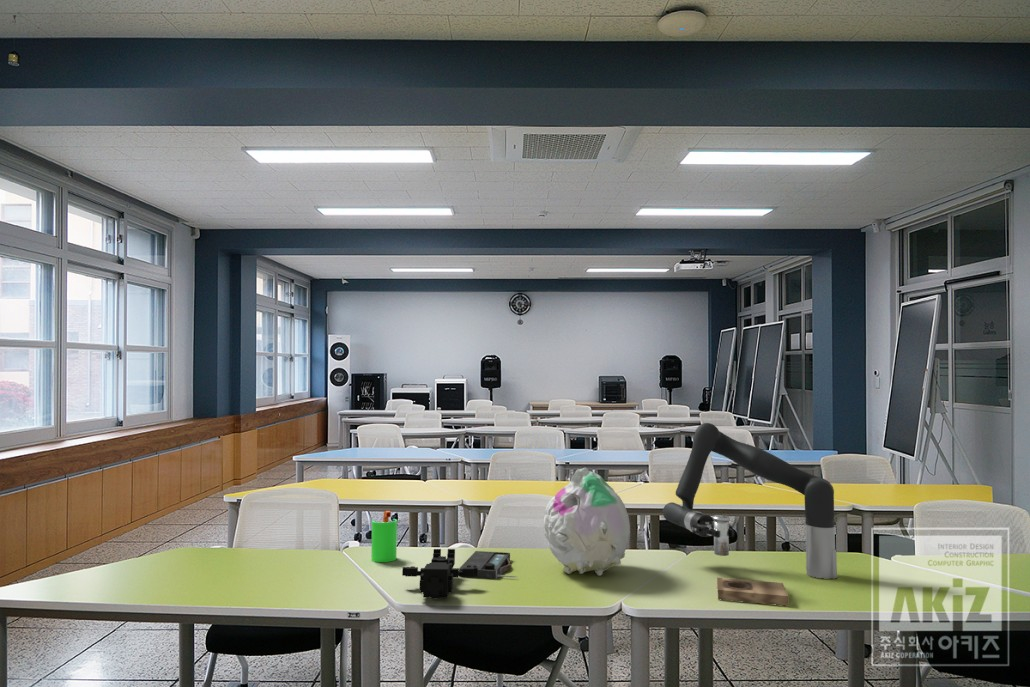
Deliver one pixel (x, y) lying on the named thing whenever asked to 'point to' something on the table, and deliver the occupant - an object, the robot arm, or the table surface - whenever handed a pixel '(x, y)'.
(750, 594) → the block
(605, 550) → the sculpture
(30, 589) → the table surface
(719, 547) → the silver metal peg
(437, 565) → the toy
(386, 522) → the green pencil cup
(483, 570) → the radio
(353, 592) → the table surface
